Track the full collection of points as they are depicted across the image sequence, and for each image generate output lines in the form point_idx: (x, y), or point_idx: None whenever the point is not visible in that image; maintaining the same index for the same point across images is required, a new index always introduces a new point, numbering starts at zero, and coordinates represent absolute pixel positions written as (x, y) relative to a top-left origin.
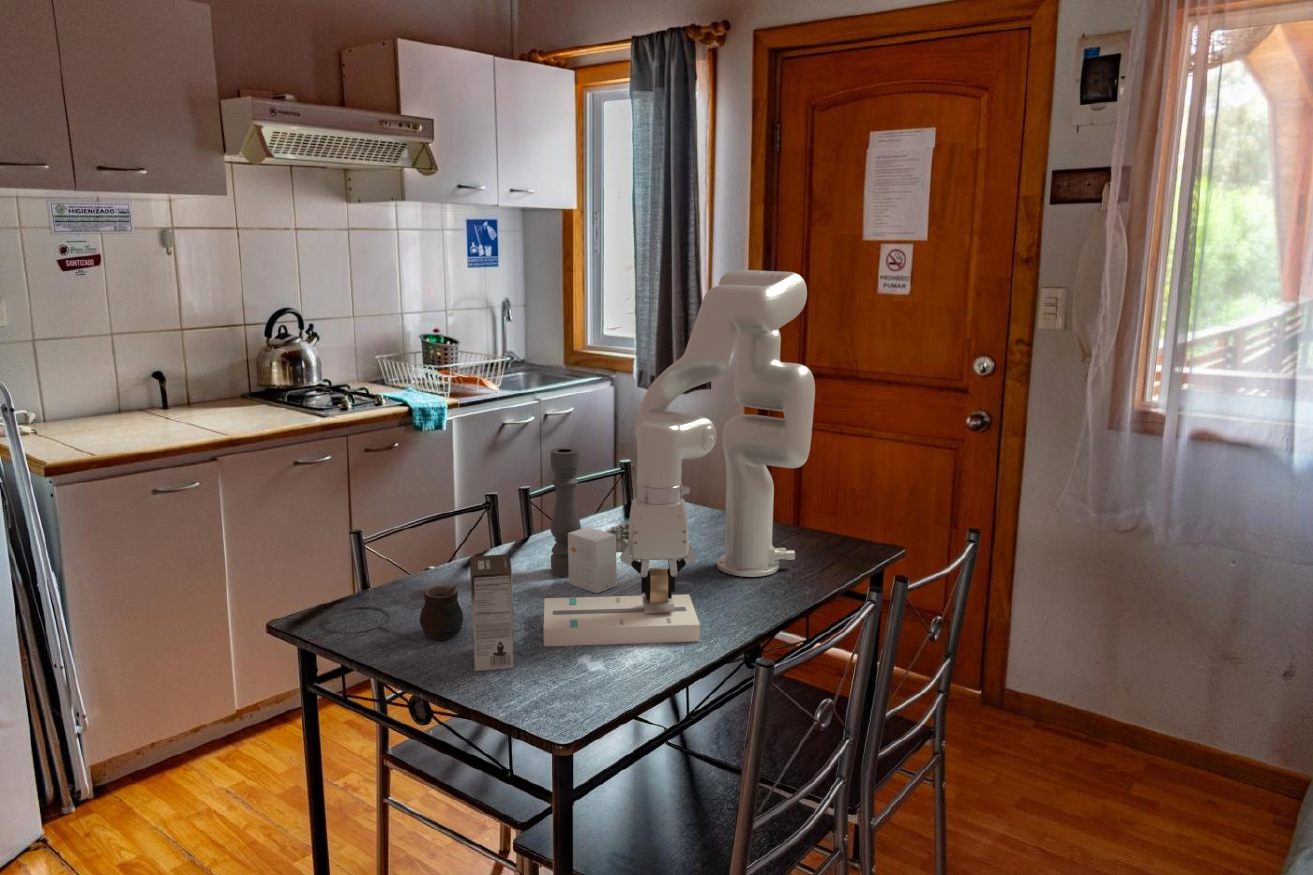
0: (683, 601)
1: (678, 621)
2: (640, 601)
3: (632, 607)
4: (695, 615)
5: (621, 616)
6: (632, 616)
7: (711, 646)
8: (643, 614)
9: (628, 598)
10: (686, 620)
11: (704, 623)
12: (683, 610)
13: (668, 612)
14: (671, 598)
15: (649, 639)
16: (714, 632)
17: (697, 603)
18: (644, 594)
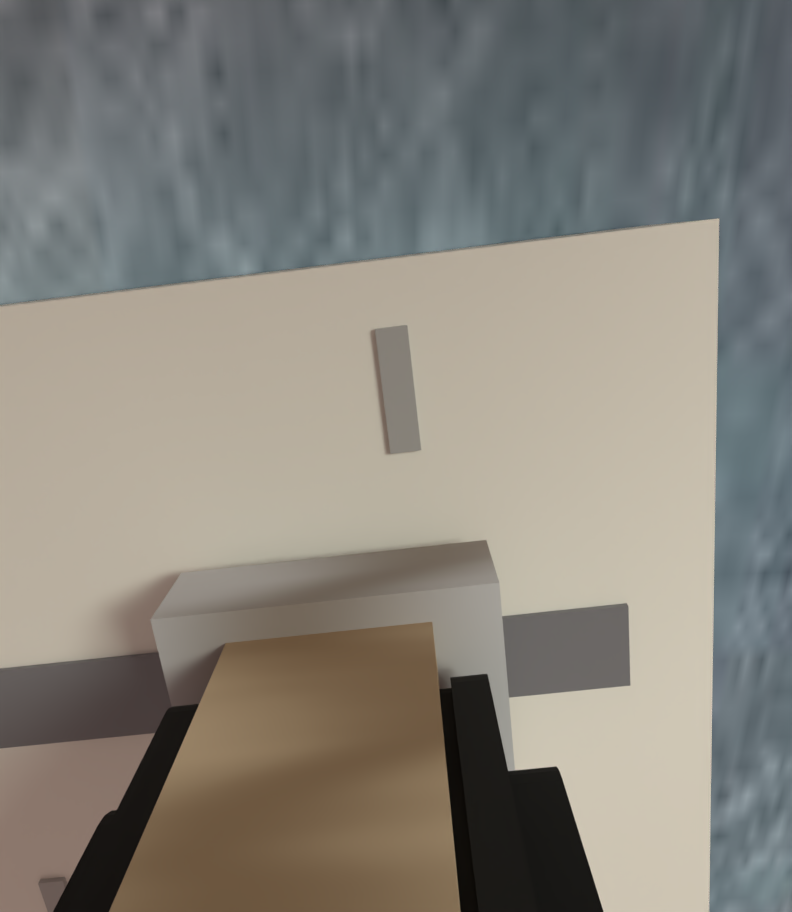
0: (625, 449)
1: None
2: (157, 463)
3: (100, 626)
4: (699, 775)
5: (39, 815)
6: None
7: (722, 877)
8: None
9: (10, 385)
10: (606, 870)
11: (742, 521)
12: (601, 685)
13: None
14: (501, 730)
15: None
16: (788, 678)
17: (760, 22)
18: (176, 625)
